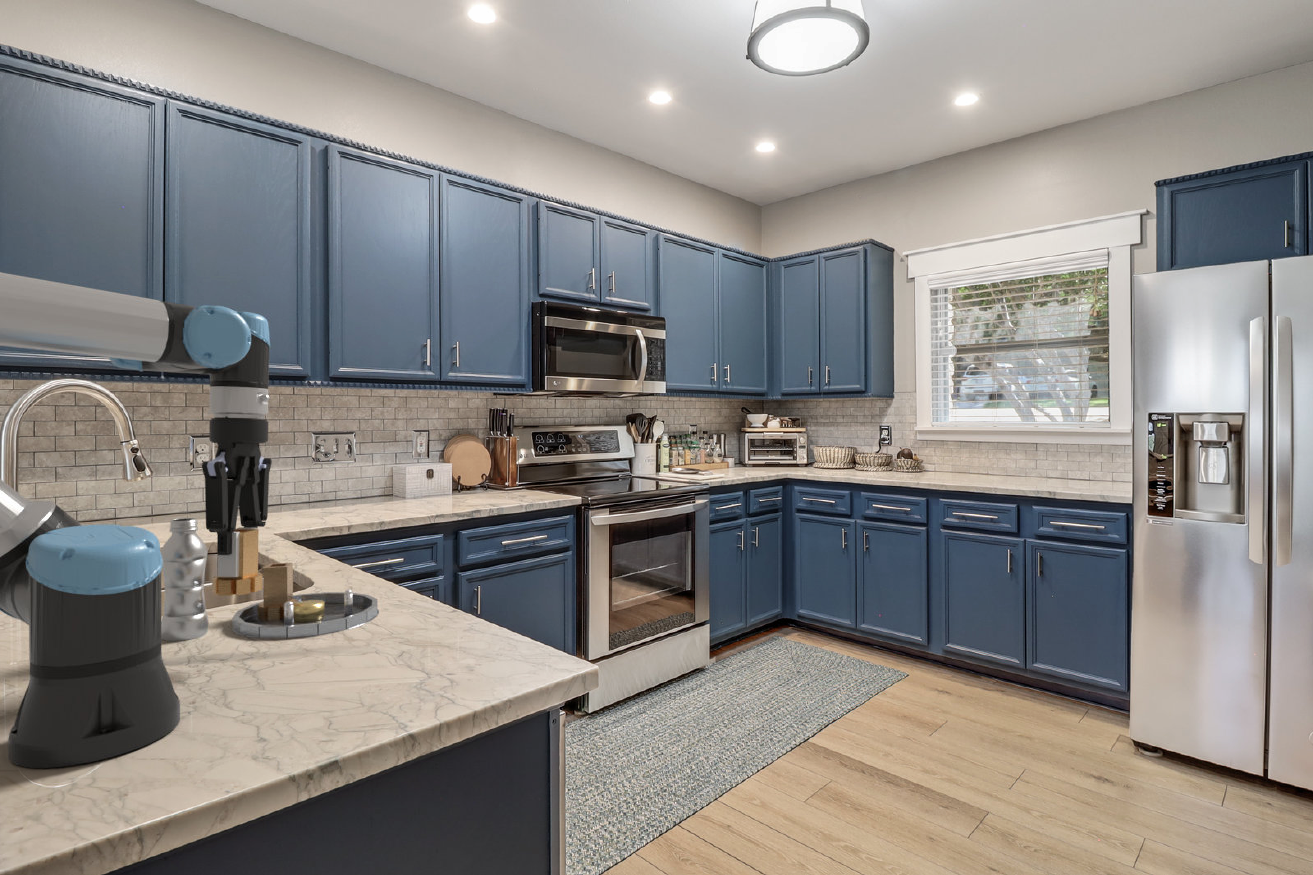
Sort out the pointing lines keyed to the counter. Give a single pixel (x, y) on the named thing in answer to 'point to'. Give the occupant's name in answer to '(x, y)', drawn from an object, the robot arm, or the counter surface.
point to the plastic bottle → (184, 582)
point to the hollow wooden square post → (242, 568)
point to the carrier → (309, 616)
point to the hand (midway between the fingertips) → (237, 573)
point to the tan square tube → (276, 590)
